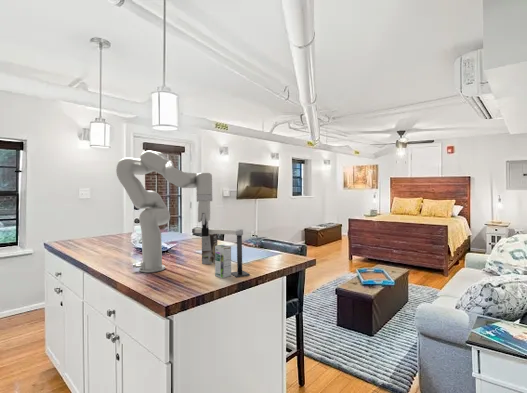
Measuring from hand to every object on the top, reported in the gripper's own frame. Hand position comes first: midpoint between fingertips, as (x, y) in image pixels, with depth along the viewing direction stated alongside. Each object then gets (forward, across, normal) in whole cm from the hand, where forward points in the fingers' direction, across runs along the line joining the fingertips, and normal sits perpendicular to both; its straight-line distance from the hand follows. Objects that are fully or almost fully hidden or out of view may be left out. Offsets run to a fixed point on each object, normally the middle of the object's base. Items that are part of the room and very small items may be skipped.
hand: (205, 236), depth 153 cm
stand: (+19, +3, +16) cm, 25 cm away
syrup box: (+19, +4, +9) cm, 21 cm away
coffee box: (+19, -24, -1) cm, 31 cm away
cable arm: (-1, -1, +6) cm, 6 cm away
